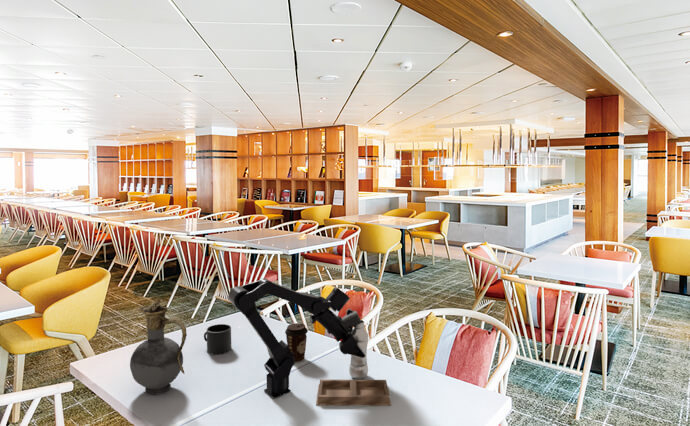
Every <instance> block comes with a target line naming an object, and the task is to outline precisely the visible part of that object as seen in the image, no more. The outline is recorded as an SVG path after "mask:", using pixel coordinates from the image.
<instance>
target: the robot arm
mask: <svg viewBox="0 0 690 426" xmlns="http://www.w3.org/2000/svg"><path fill="white" fill-rule="evenodd" d="M266 295H271V296H273V297H276V298H278V299H282V300H284V301H287V302H290V303H292V304H295V305H297V306H298V307H300V308H302V309H303V310H305V311H306V312H308V313H309V324H310V323H311V325H312V324H313V325H314V324H315V323H316V322H317V323H318V324H320V325H321V326H322V327H323V328H324V329H325V330H326V331H327V334H328V335H330V334H331V335H332V336H333V337H334V338H335V341H336V342H339V343H338V348H339V351H340V353H342V354H343V355H350V356H351V355H354V356H358V357H361V358H364V357H365V354H364V353H363V351H362V350H361V349H360V348H359V346H358V340H357V338H356V337H355V336H354V335H353V334H351V332H352V330H353V329H354V327H353V326H355V325H357V324H360V323H361V320H362V319H361V318H360V316H359V314H358V311H357V310H352V309H351V308H348V309H346V313H345V315H344V316H343V317H342V316H340V315H336V314H335V313H334V312H341V310H342V309H343V308H344V306H346V304H347V303H348V302H349V300H351V298H350V296H349V295H348V294H347V293H345V292H344V291H343V290H341V289H340V288H339V287H337V286H334V288H332V290H331V292H330V293H329V294H328V295H327V296H326V298H325V297H324V296H318V295H317V296H316V295H315V294H313V293H308V292H304V291H303V292H300V291H295V290H293V289H292V288H289V287H285V286H284V285H280V284H278V283H275V282H273V281H271V280H269V279H268V278H261V279H259V280H256V281H253V282H250V283H247V284H243V285H241V286H240V285H239V286H234V287H232V288H231V289H230V291H229V293H228V295H227V299H228V301H229V302H230V303H231V304H232V305H233V306H234V307H235V308H236V309H237V310H238V311H239V312H240V313H242V314H243V316H245V318H246V319H247V322H248V323H249V324H250V325H251V326H252V328H253V329H254V331H255V332H256V334H257V335H258V337H259V338H260V340H261V341H262V342H263V344H264V345H265V346H266V350H267V354H268V355H269V358H268V359H267V361H265V363H264V369H265V370H266V371H267V372H268V373H267V374H266V388H265V389H263V391H264V393H266V394H267V395H269V396H270V397H271V398H273V399H277V398H279V397H282V396H284V395H287V394H289V393H291V389H290V374H291V371H292V368H293V367H294V364H295V363H296V362H295V359H294V357H293V356H294V355H295V354H293V353H292V352H291V350H290V348H289V346H288V345H287V342H285V341H284V340H283V339H281V340H279V341H278V339H277V337H276V336H275V335H274V333H273V332H272V330H271V329H270V327H269V326H268V325H267V323H266V321H265V319H264V318H263V317H262V316H261V314H260V313H259V311H258V307H257V304H256V302H258V301H260V300H261V299H263V297H264V296H266Z"/></svg>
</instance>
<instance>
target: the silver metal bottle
mask: <svg viewBox="0 0 690 426" xmlns="http://www.w3.org/2000/svg"><path fill="white" fill-rule="evenodd" d="M360 320H361V323H360V324H357V325H355V326H353V330H352V332H351V334H353V335H354V336H355V337H356V338H357V340H358V346H359V348H360V349H361V350H362V351H363V353H364V354H365V357H364V358H361V357H358V356H354V355H350V364H349V370H348V372H349V375H350V377H351V378H352V379H354V380H363V379H365V378H366V377H367V376H368V372H369V364H368V356H367V354H368V353H367V351H368V343H369V334H368V332H367V330H366V329H365V327H366V325H365V320H363V319H360Z"/></svg>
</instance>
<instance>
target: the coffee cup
mask: <svg viewBox="0 0 690 426" xmlns="http://www.w3.org/2000/svg"><path fill="white" fill-rule="evenodd" d="M308 332H309V331H308V328H307V327H306V324H304V323H290V324H289V325H287V327H286V329H285V332H284V333H285V335H286V344H287V345H288V346H289V348H290V350H291V352H292V353H293V354H295V355H294V356H293V357H294V359H295V362H294V363H301V362H303V361H304V360H305V358H306V357H305V355H306V346H307V333H308Z"/></svg>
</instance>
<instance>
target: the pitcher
mask: <svg viewBox="0 0 690 426" xmlns="http://www.w3.org/2000/svg"><path fill="white" fill-rule="evenodd" d="M163 302H164V300H162V299H159V300H158V299H157V301H152V302H151V303H150V304H149V305H145V306H142V307H139V308H137V310H138V311H140V312H142V314H144V315H145V316H146V329H147V339H146V340H144V341H143V342H141V343H140V344H139V345H138V346H137V347H136V348H135V349H134V351H133V352H132V355H131V357H130V361H129V368H130V372H131V375H132V378H133V380H134V381H135V382H136V383H137V384H138V385H140V386H142V387H144V388H145V392H146V393H147V394H150V395H160V393H161V394H164V393H166V392H168V391H169V390H170V389H171V387H172V385H171V383H172V382H174V380H176V378H177V377H178V376H179V374H180V372H181V373H182V374H183V375H185V370H184V367H183V364H184V356H183V352H182V350H183V347H184V345H185V343H186V340H187V336H188V335H187V328H186V325H185V324H184V322H182V320H180V319H178V318H175V317H170V318H167V317H166V312H168V309H169V308H170V307H169V306H161V303H163ZM167 324H176V325H177V326H178V327H179V328H180V331H181V334H182V337H181V343H180V345H179V344H178V343H177V342H176V340H175V341H174V340H173V339H171V338H169V337H165V326H166V325H167ZM167 390H168V391H167ZM163 392H164V393H163Z"/></svg>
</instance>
